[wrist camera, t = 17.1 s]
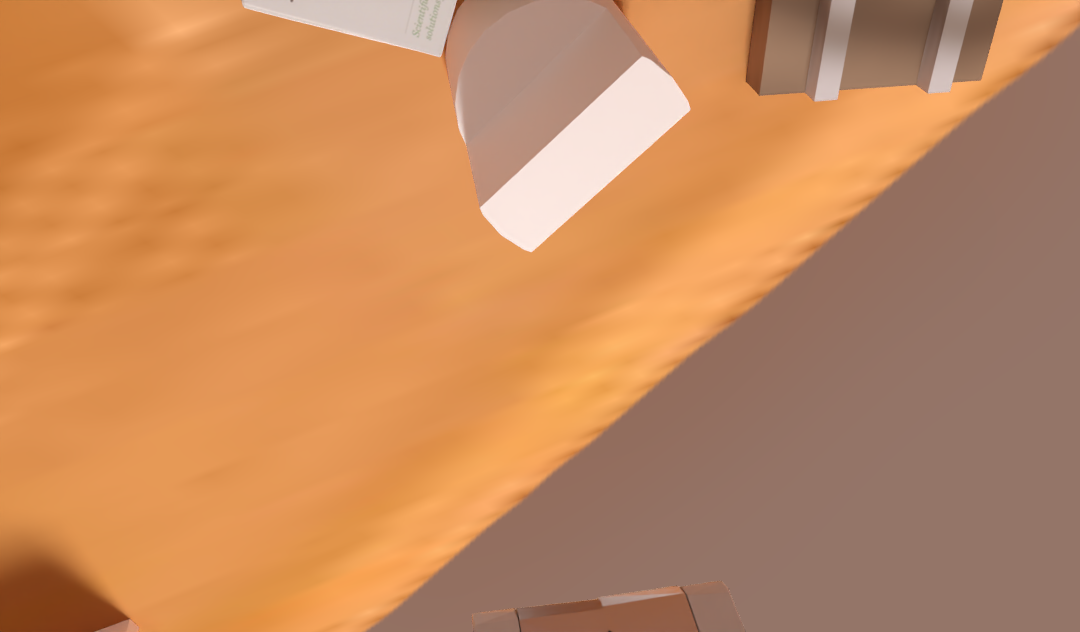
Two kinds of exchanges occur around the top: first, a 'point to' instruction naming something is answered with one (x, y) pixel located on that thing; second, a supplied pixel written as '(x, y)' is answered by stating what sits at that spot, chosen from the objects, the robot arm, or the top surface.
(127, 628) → the white slotted rack
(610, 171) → the base with upright slab
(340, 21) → the skincare box
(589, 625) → the robot arm
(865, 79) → the rail board
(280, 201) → the top surface
